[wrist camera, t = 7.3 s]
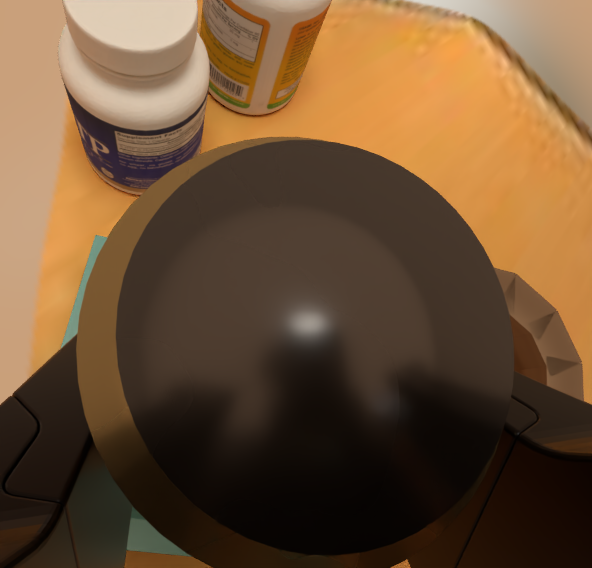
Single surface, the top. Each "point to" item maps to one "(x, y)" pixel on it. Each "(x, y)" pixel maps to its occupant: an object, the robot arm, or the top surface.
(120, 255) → the steel pin
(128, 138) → the pill bottle
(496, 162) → the top surface
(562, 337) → the socket
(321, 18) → the supplement bottle
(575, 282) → the top surface
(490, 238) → the top surface
